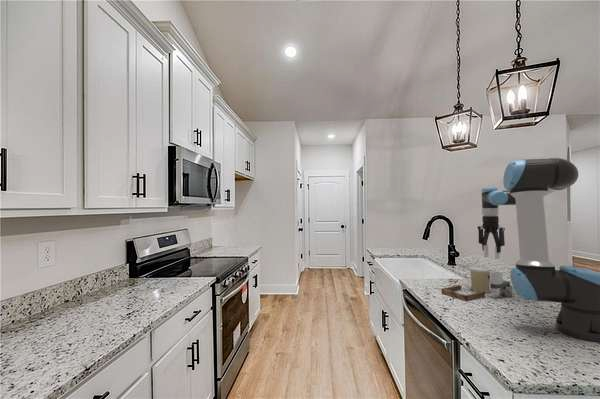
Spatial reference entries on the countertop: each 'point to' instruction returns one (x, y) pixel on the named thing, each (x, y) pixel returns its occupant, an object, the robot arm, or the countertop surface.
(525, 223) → the robot arm
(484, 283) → the coffee cup
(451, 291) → the brown u-shaped wooden bracket
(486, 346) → the countertop surface
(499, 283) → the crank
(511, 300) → the countertop surface
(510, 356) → the countertop surface
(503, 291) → the pedestal
